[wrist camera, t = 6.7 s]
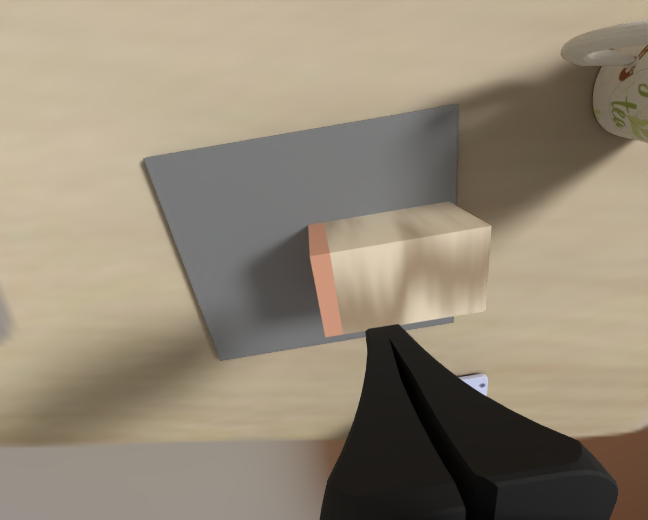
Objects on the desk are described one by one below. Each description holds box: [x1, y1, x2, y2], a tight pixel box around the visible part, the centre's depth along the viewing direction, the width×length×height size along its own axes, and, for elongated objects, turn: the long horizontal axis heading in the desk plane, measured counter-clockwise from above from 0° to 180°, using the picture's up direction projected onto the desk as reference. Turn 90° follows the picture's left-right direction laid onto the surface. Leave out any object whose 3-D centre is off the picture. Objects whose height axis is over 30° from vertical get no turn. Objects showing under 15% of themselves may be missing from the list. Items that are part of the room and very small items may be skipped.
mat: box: [143, 104, 458, 361], centre depth 21 cm, size 15×18×1 cm
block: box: [308, 201, 492, 337], centre depth 19 cm, size 5×5×9 cm
